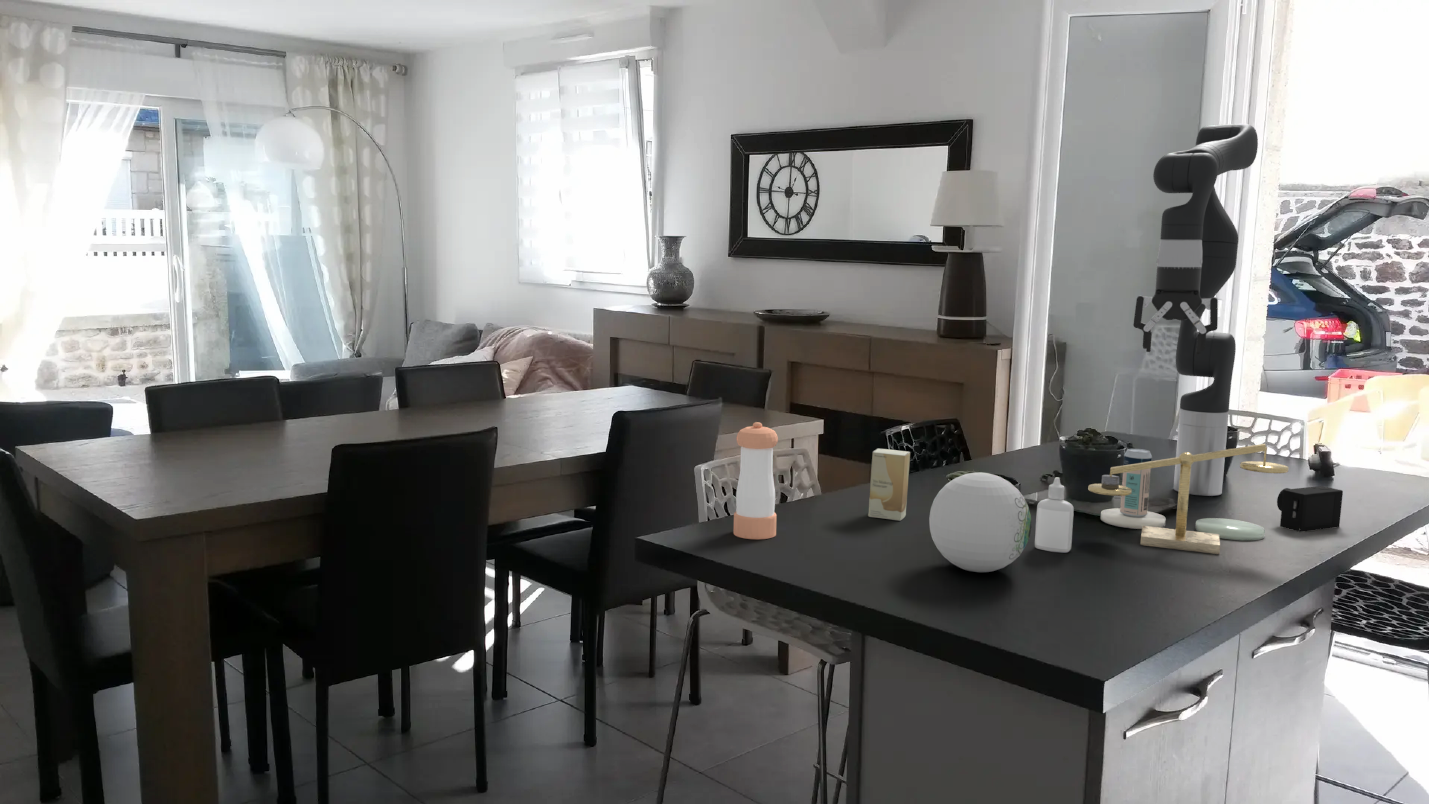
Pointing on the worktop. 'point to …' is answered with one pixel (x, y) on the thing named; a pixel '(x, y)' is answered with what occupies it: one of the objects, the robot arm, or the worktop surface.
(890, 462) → the skincare box
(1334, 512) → the digital camera
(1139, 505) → the beer can
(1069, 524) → the eye dropper bottle
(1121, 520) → the glossy white dome
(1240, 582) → the worktop surface
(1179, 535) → the balance
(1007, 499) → the decorative object
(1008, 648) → the worktop surface
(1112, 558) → the worktop surface
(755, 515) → the pepper shaker
